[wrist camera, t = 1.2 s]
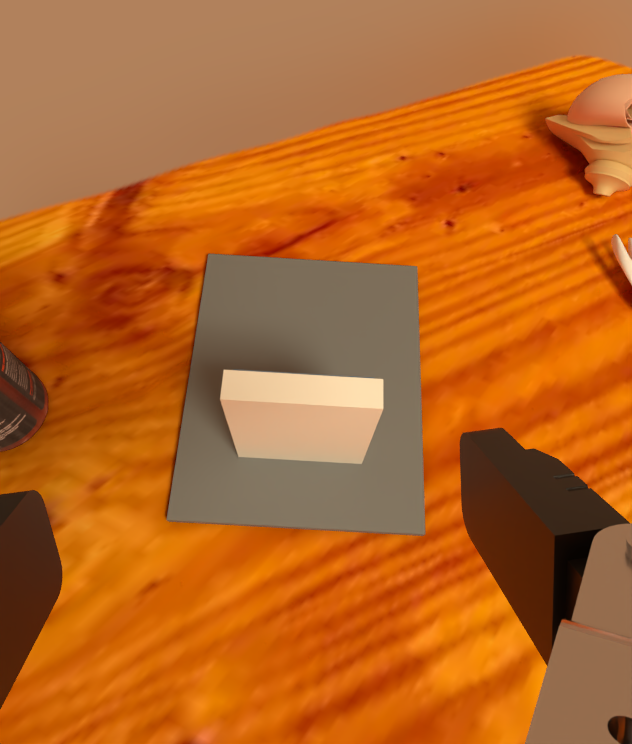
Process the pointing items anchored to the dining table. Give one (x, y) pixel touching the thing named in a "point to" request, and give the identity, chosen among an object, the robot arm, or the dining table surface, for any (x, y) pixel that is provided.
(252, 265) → the mat
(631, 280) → the spoon
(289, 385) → the tile
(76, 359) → the dining table surface
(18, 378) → the supplement bottle
